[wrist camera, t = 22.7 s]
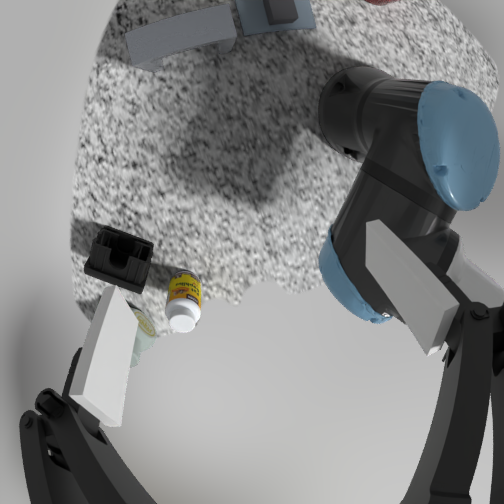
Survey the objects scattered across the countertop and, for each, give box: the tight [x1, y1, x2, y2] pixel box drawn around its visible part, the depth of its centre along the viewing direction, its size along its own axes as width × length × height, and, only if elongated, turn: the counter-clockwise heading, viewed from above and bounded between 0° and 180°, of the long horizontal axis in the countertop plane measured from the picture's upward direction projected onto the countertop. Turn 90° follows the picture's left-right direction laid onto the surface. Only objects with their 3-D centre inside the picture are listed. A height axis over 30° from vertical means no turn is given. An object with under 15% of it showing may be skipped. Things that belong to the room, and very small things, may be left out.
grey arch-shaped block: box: [125, 4, 237, 72], centre depth 25 cm, size 10×4×11 cm, turn 102°
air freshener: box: [130, 308, 156, 367], centre depth 48 cm, size 11×8×10 cm
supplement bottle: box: [165, 271, 201, 333], centre depth 45 cm, size 6×6×10 cm
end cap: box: [84, 226, 154, 294], centre depth 41 cm, size 10×7×7 cm
